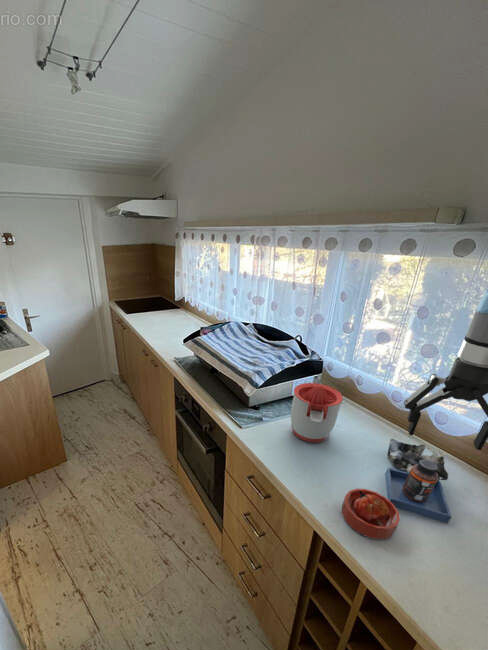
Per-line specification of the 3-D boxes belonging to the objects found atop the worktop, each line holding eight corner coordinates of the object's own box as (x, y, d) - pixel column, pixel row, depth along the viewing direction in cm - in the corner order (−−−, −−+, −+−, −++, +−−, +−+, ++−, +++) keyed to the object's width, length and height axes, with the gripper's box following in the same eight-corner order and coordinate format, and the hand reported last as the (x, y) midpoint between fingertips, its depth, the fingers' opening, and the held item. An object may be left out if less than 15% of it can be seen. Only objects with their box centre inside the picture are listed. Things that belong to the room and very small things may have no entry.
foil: (427, 446, 100) (453, 450, 86) (422, 478, 99) (446, 488, 85) (387, 437, 103) (406, 439, 89) (381, 468, 103) (399, 476, 88)
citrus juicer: (285, 445, 106) (294, 395, 97) (287, 418, 121) (295, 372, 111) (334, 454, 102) (348, 403, 92) (330, 425, 116) (342, 378, 107)
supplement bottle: (423, 507, 82) (439, 476, 77) (398, 494, 86) (412, 464, 81) (429, 495, 86) (445, 464, 80) (405, 483, 89) (418, 453, 84)
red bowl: (391, 509, 82) (397, 498, 80) (396, 548, 72) (402, 536, 70) (342, 494, 87) (345, 483, 85) (340, 528, 77) (344, 516, 75)
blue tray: (437, 488, 89) (440, 481, 87) (447, 523, 78) (451, 516, 77) (384, 473, 94) (387, 467, 93) (388, 505, 83) (391, 498, 82)
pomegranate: (384, 525, 80) (365, 486, 84) (404, 525, 73) (382, 484, 77) (360, 534, 78) (342, 495, 82) (378, 535, 72) (357, 492, 76)
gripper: (547, 364, 64) (501, 443, 74) (408, 347, 74) (383, 419, 84) (567, 378, 58) (514, 463, 68) (412, 358, 68) (385, 434, 78)
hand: (442, 439), depth 76 cm, fingers open, 13 cm apart
